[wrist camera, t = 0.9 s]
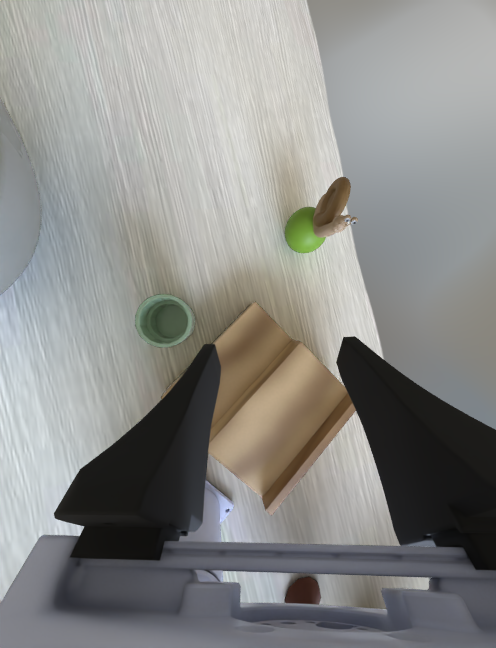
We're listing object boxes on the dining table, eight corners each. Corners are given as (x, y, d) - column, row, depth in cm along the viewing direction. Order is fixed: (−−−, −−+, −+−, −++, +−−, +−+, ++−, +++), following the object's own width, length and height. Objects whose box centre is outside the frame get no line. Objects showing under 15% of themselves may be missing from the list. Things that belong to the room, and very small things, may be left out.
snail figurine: (274, 260, 27) (323, 211, 15) (282, 216, 27) (336, 136, 16) (309, 269, 28) (379, 229, 16) (316, 227, 28) (391, 158, 17)
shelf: (165, 390, 24) (149, 413, 18) (251, 303, 27) (263, 296, 20) (257, 470, 27) (271, 516, 20) (329, 384, 29) (363, 401, 23)
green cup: (173, 351, 25) (164, 358, 20) (140, 321, 24) (122, 320, 19) (204, 321, 25) (202, 320, 21) (173, 291, 25) (164, 283, 20)
